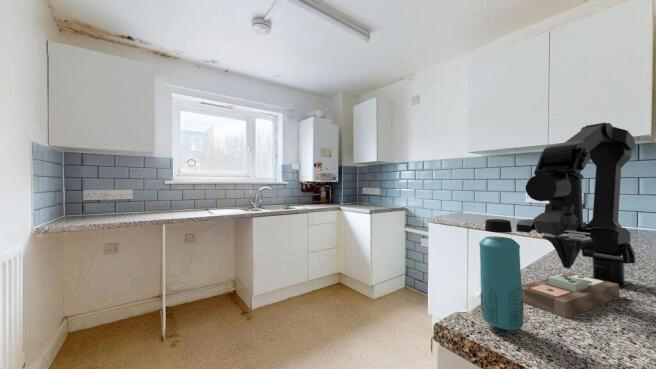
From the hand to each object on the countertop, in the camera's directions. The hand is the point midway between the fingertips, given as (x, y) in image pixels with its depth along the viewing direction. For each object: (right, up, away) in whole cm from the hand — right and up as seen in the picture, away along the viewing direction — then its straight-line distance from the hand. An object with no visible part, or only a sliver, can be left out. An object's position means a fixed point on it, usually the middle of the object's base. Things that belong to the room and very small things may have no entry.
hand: (567, 267), depth 60 cm
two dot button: (+7, -6, +3) cm, 9 cm away
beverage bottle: (-23, -8, -12) cm, 27 cm away
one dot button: (-6, -6, -3) cm, 9 cm away
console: (0, -7, 0) cm, 7 cm away
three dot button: (0, -5, 0) cm, 5 cm away
